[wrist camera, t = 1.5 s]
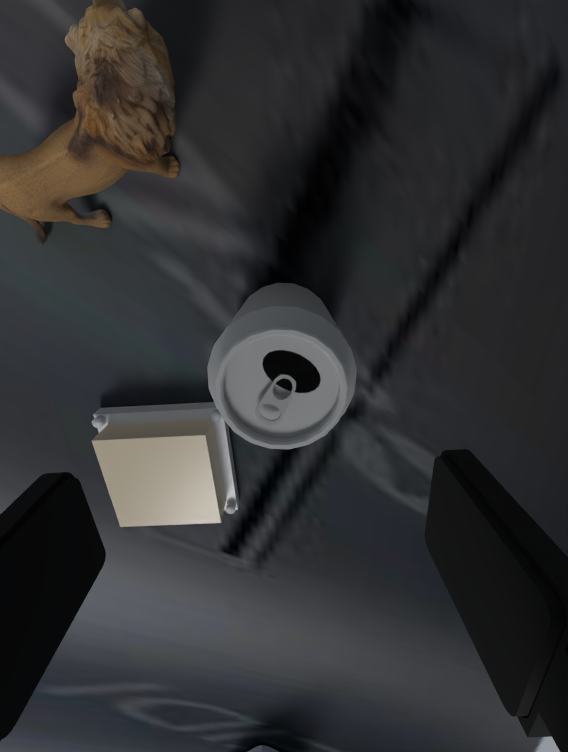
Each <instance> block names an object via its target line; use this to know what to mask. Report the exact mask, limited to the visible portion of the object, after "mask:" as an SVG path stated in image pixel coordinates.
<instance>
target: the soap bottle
mask: <svg viewBox="0 0 568 752" xmlns="http://www.w3.org/2000/svg"><path fill="white" fill-rule="evenodd" d="M248 752H279V751H277V750H275V749H273V748H270V747H268V746H265V745H260V746H257V747H255V748H253V749H251V750H249V751H248Z"/></svg>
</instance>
